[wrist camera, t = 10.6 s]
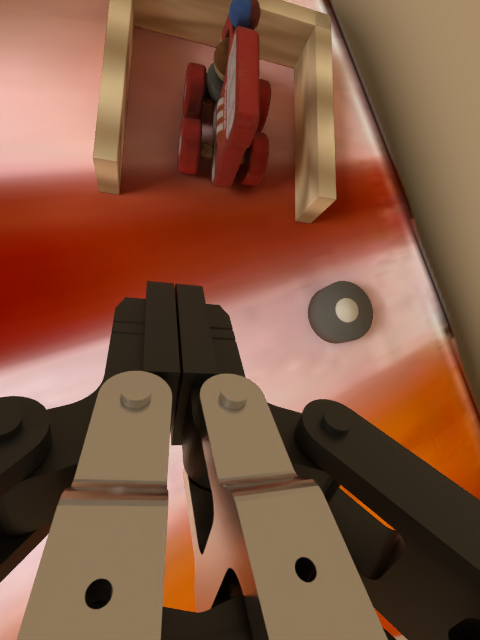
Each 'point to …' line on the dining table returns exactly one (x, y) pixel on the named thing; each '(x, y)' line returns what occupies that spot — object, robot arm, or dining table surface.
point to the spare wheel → (340, 312)
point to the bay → (275, 46)
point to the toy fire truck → (229, 104)
